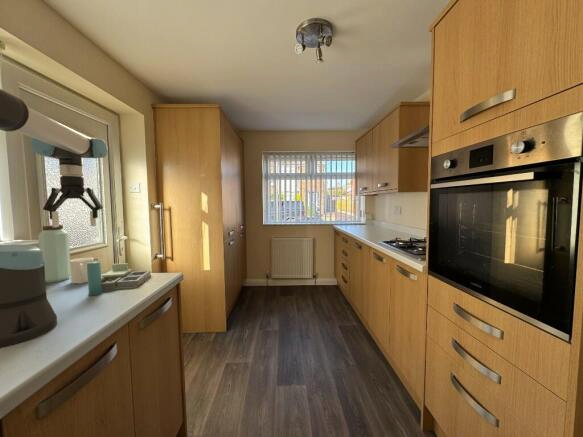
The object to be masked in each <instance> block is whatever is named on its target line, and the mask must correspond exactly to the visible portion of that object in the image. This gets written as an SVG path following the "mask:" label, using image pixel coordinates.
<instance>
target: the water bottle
mask: <svg viewBox="0 0 583 437" xmlns="http://www.w3.org/2000/svg"><path fill="white" fill-rule="evenodd" d="M37 238H38V239H37V240H38V247H39V248H40V249H41V250H42V252H43V257H44V260H45V280H46V283H48V284H49V283H57V282H58V283H59V282H62V281H66V280H68V279H69V278H71V270H70V261H71V253H70V252H71V251H70V250H71V249H70V242H69V241H70V239H69V238H70V236H69V232H68V231H66V230H65V229H64V224H59V227H53V225H51V224H50V225H42V231H41V232H39V233H38V235H37Z"/></svg>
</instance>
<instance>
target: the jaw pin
mask: <svg viewBox="0 0 583 437" xmlns="http://www.w3.org/2000/svg"><path fill="white" fill-rule="evenodd" d="M101 268H102V267H101V261H94V262H90V263H87V274H88V282H87V286H88V288H87V290H88V296H90V297H94V296H100V295H101V294H102V293H103V291H102V282H101V278H102V269H101Z"/></svg>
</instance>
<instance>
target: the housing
mask: <svg viewBox="0 0 583 437" xmlns="http://www.w3.org/2000/svg"><path fill="white" fill-rule="evenodd" d="M150 276H151V277H152V274H151V270H142V271H132V270H131V271H130V272H129V273H127V274H125V275H124V276H114V277H101V282H102V292H108V291H119V290H121V291H122V290H131V289H132V290H133V289H138V288H139V286H141V285H142V284H144V283H145V282H146V281H147V280H148V279H149V278H150ZM144 281H145V282H144Z"/></svg>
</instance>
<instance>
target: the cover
mask: <svg viewBox="0 0 583 437" xmlns="http://www.w3.org/2000/svg"><path fill="white" fill-rule="evenodd" d="M111 265H112V269H111V270H109V271H107V272H106V273H104V274H101V278H103V277H114V276H124V275H125V274H127V273H129V272H130V271H132V268H129V263H128V262H127V263H126V262H124V263H121V262H120V263H112V264H111Z"/></svg>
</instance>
